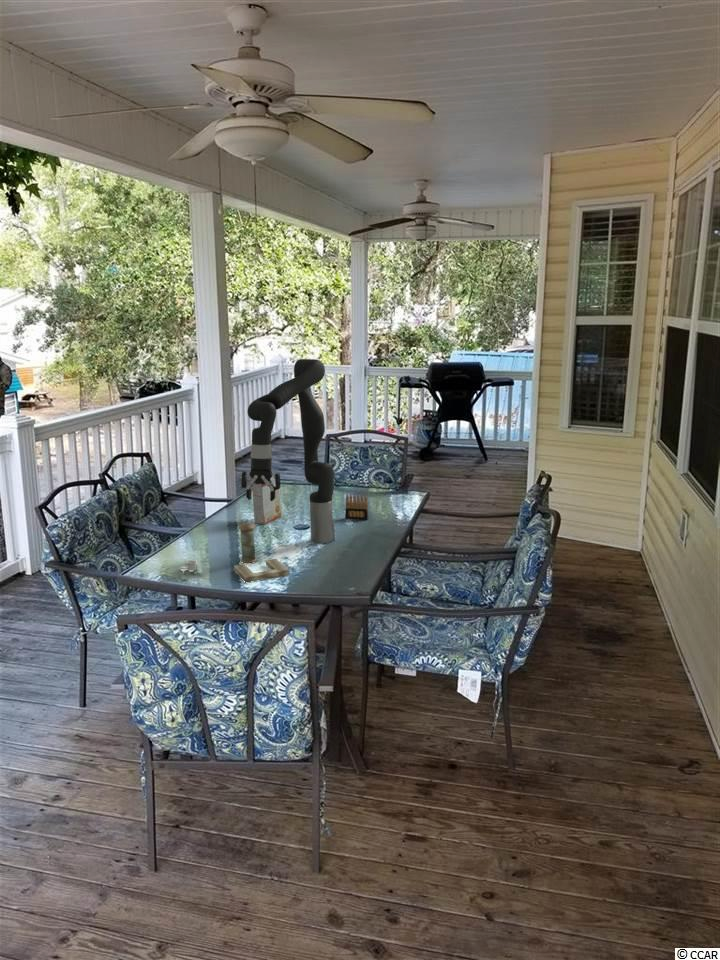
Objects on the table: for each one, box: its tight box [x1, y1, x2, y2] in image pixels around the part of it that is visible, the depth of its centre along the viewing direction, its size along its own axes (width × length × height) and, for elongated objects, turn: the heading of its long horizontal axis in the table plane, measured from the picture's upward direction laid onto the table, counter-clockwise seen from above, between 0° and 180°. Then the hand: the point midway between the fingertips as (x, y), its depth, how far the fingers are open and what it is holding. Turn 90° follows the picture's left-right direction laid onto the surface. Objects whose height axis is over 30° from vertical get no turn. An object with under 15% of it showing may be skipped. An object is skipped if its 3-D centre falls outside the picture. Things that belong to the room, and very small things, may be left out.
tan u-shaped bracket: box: [233, 558, 290, 584], centre depth 257 cm, size 16×14×2 cm
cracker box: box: [251, 476, 282, 525], centre depth 322 cm, size 14×6×21 cm, turn 152°
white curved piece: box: [178, 560, 198, 571], centre depth 260 cm, size 9×8×4 cm
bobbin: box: [237, 523, 258, 564], centre depth 269 cm, size 6×6×14 cm
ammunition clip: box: [344, 493, 369, 521], centre depth 323 cm, size 11×2×12 cm, turn 76°
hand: (260, 500), depth 259 cm, fingers open, 8 cm apart
